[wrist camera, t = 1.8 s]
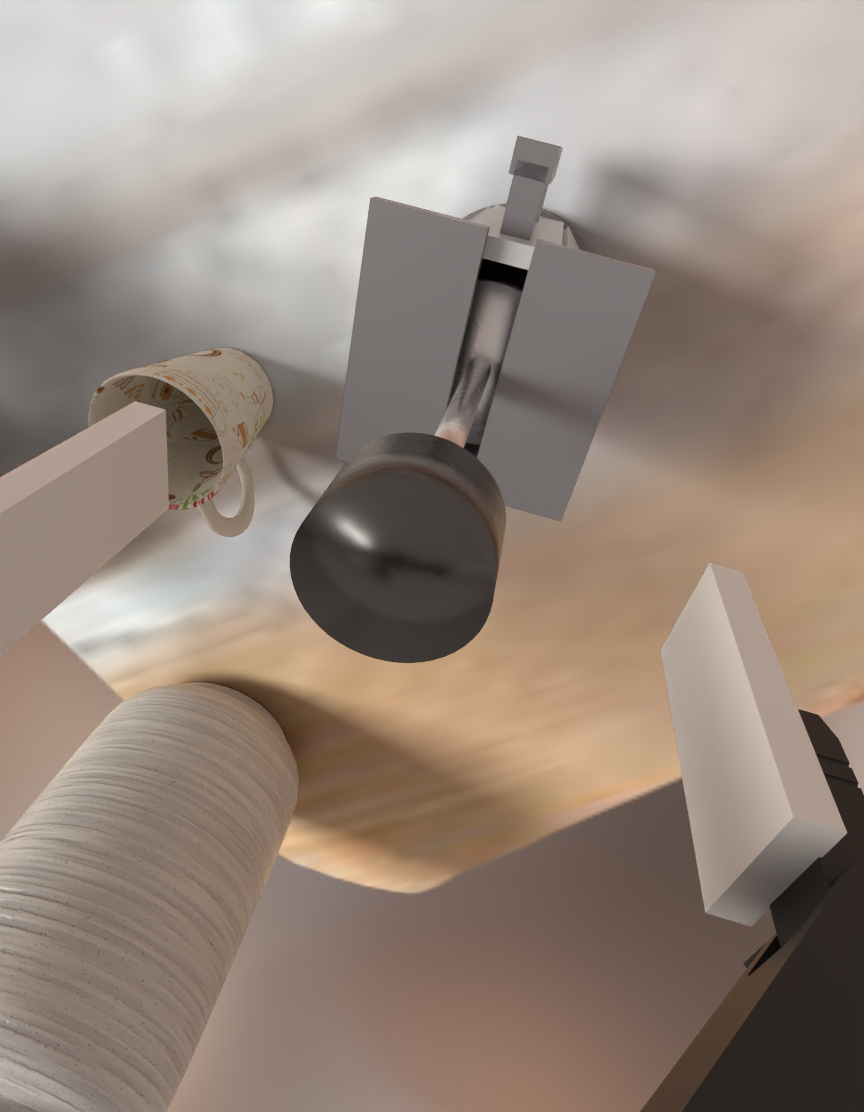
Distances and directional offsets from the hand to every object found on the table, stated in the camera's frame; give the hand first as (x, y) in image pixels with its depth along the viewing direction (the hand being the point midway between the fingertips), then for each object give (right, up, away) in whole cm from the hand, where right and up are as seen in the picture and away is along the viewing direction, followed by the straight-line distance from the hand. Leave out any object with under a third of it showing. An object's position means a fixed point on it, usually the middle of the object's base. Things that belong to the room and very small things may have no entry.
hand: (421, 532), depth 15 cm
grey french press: (+5, +16, +22) cm, 27 cm away
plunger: (+2, +8, +12) cm, 15 cm away
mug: (-13, +9, +30) cm, 34 cm away
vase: (-21, -19, +50) cm, 57 cm away
